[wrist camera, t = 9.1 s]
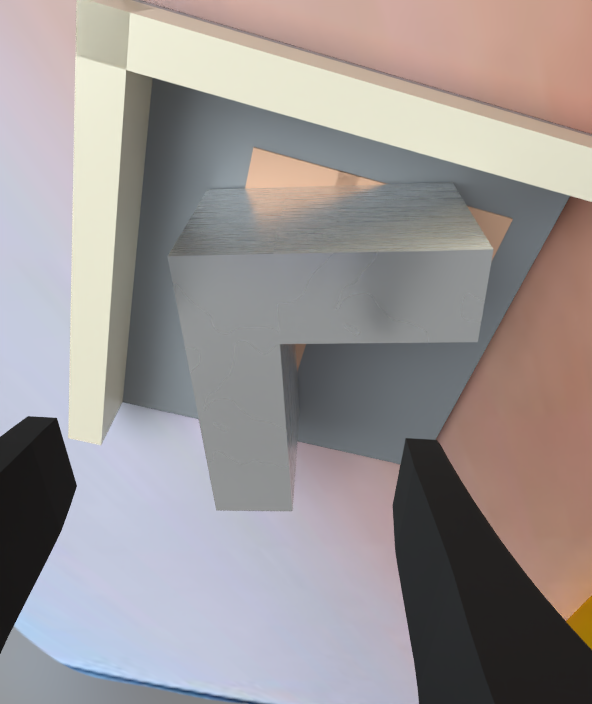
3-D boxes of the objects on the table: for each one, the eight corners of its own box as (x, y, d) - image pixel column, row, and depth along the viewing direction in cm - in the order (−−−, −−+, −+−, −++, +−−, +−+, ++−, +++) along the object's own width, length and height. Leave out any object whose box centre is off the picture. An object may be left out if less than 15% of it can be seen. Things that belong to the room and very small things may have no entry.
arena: (593, 134, 16) (642, 163, 14) (417, 458, 24) (428, 515, 21) (120, -6, 15) (76, -4, 12) (98, 386, 22) (68, 438, 20)
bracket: (426, 410, 21) (448, 512, 17) (237, 411, 22) (216, 510, 18) (452, 181, 16) (493, 249, 12) (207, 189, 17) (167, 256, 13)
